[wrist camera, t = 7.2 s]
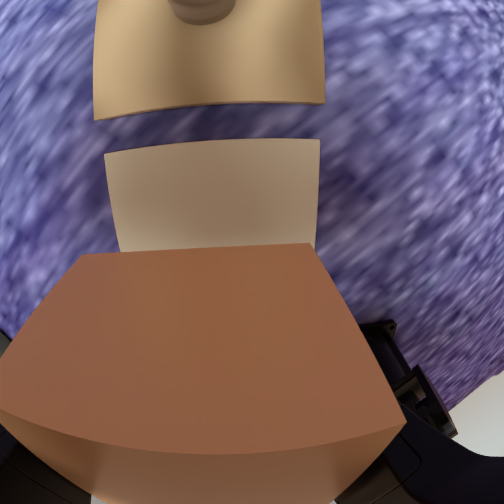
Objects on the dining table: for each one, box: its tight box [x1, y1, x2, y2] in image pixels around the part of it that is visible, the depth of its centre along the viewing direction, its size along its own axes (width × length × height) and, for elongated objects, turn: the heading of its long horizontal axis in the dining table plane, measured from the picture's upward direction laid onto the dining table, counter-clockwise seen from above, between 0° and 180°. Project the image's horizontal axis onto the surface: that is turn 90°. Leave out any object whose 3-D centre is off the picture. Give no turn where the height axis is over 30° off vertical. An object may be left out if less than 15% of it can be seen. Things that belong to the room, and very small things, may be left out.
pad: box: [104, 138, 320, 252], centre depth 16 cm, size 12×10×1 cm
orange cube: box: [0, 243, 407, 504], centre depth 6 cm, size 6×6×5 cm
